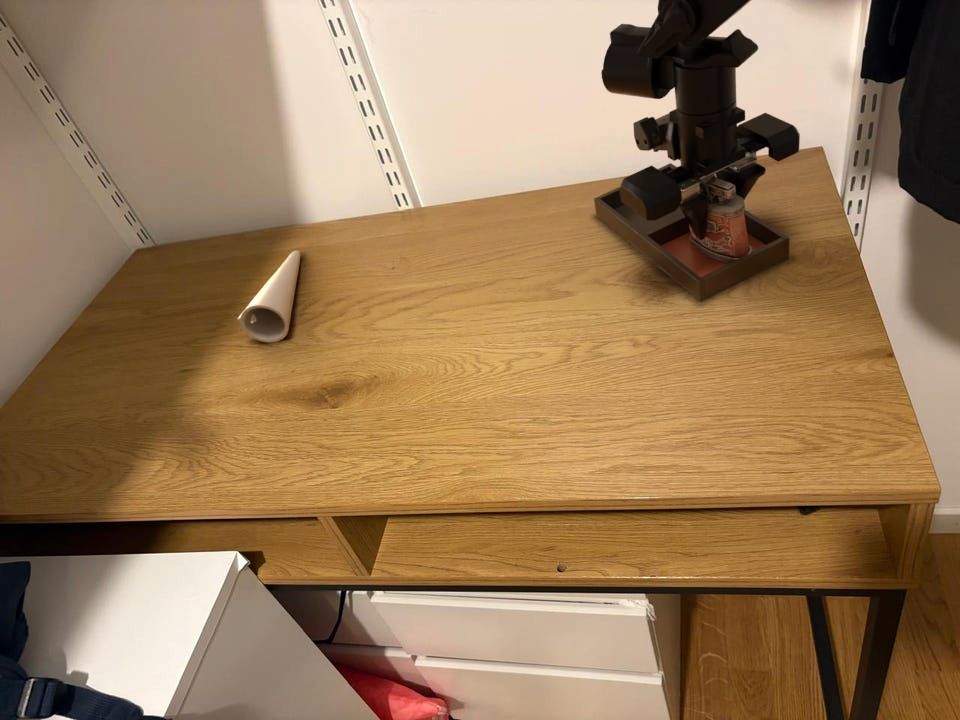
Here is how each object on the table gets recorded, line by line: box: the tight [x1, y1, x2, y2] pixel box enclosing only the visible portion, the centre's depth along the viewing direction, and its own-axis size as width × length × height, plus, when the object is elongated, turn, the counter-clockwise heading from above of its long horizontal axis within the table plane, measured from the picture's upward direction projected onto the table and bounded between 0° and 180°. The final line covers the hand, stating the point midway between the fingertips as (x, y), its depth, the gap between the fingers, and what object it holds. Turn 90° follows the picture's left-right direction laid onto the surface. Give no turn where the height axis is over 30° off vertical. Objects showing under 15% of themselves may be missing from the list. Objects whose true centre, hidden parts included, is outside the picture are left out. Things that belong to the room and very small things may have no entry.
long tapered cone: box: [236, 249, 302, 343], centre depth 101 cm, size 6×6×19 cm
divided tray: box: [593, 162, 791, 303], centre depth 89 cm, size 12×23×3 cm, turn 23°
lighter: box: [689, 174, 752, 263], centre depth 82 cm, size 8×3×10 cm, turn 34°
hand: (712, 232), depth 84 cm, fingers closed on lighter, 3 cm apart
